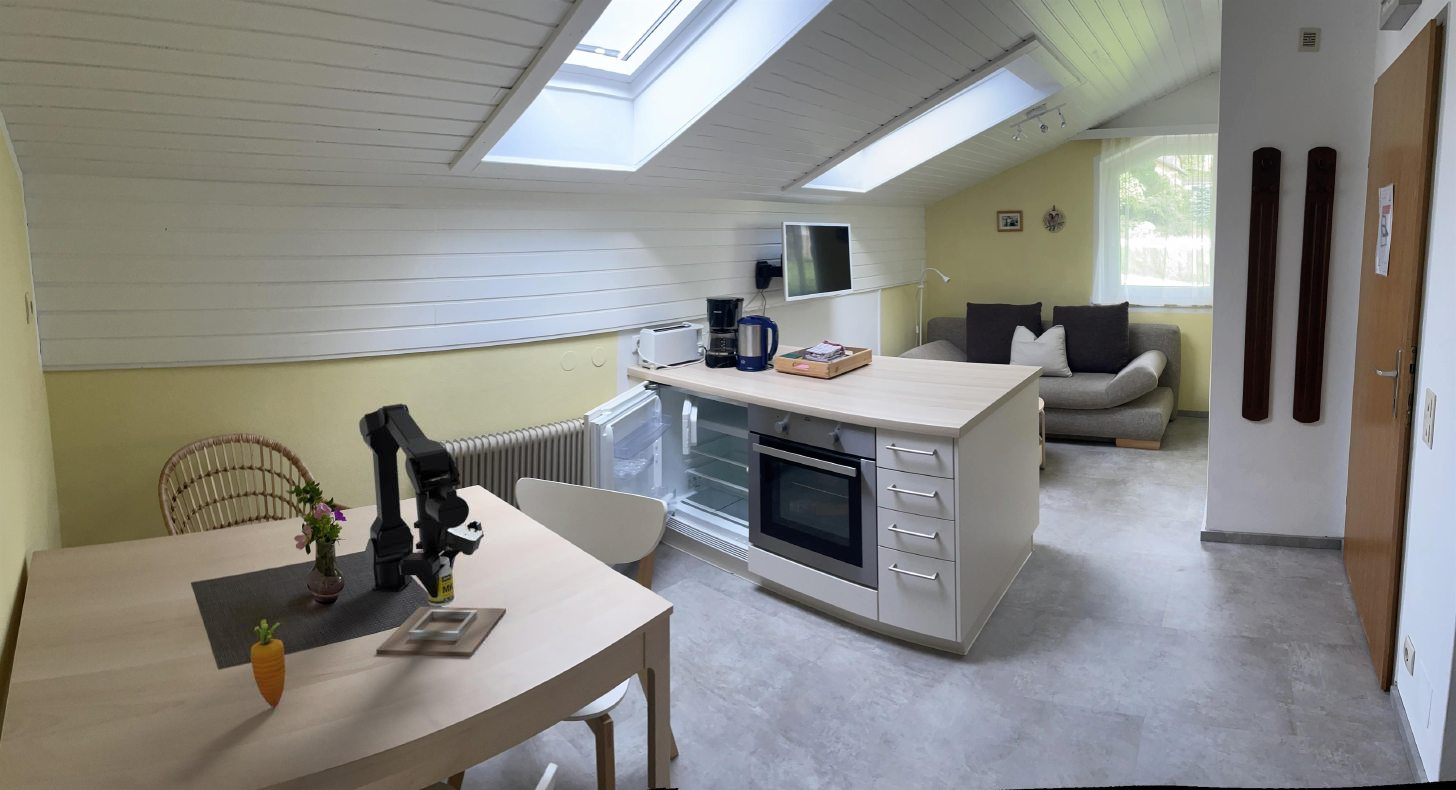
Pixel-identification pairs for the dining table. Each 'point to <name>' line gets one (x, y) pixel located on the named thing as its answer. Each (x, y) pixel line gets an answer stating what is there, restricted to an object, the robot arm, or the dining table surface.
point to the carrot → (268, 664)
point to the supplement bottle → (444, 585)
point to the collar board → (443, 631)
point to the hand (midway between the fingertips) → (440, 591)
